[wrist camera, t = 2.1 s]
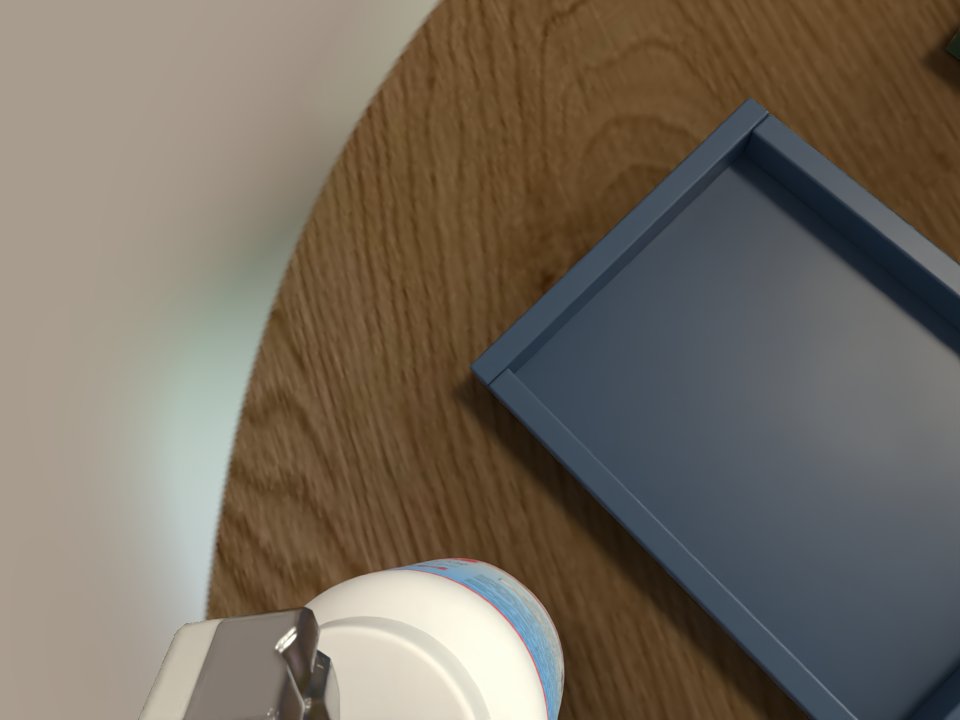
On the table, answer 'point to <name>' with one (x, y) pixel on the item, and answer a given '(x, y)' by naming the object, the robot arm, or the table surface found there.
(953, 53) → the button base
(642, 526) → the dish
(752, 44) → the table surface
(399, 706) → the pill bottle
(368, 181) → the table surface
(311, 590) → the table surface
